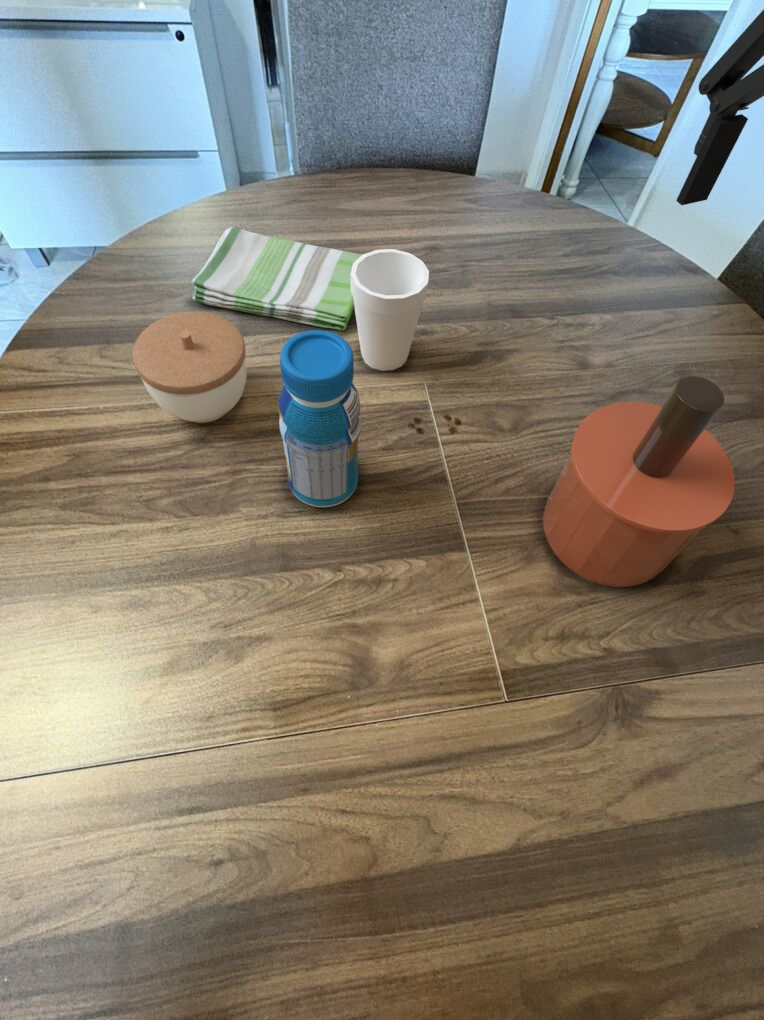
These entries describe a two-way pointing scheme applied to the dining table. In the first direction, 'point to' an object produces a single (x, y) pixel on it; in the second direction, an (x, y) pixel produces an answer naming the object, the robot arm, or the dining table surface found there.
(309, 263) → the dish towel
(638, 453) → the lid
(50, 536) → the dining table surface
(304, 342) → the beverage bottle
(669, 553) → the jar
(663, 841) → the dining table surface
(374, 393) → the dining table surface
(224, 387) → the lidded bowl
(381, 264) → the foam cup
